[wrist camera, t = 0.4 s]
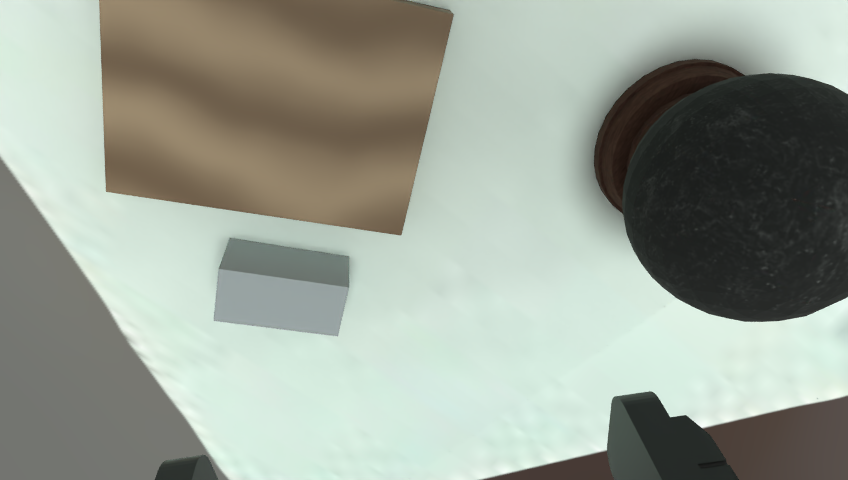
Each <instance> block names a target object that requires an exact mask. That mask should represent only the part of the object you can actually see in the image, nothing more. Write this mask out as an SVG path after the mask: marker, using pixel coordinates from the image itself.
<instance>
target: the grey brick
mask: <svg viewBox="0 0 848 480" xmlns="http://www.w3.org/2000/svg"><path fill="white" fill-rule="evenodd" d="M348 289H349V257H348V256H342V255H335V254H329V253H322V252H316V251H310V250H303V249H297V248H291V247H284V246H278V245H271V244H265V243H259V242H252V241H246V240H239V239H233V238H230V239H229V242H228V245H227V247H226V250H225V253H224V256H223V258H222V261H221V264H220V267H219V271H218V281H217V291H216V302H215V312H214V321H220V322H228V323H236V324H244V325H252V326H260V327H268V328H276V329H284V330H292V331H300V332H308V333H316V334H324V335H332V336H338V333H339V329H340V325H341V320H342V316H343V311H344V307H345V302H346V298H347V293H348Z"/></svg>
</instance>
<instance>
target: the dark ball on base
mask: <svg viewBox="0 0 848 480" xmlns="http://www.w3.org/2000/svg"><path fill="white" fill-rule="evenodd" d="M594 167H595V173H596V178H597V181H598V183H599V186H600V188H601V190H602V192H603V193H604V195H605V196H606V197H607V199H608V200H609V201H610V202H611V204H612V205H613V206H614V207H615V208H617V209H618V210H619V211H620V212H622V213H623V215H624V221H625V227H626V232H627V235H628V238H629V240H630V243H631V245H632V247H633V250H634V252H635V253H636V255H637V257H638V259H639V260H640V262H641V264H642V265H643V266H644V267H645V269H646V270H647V271H648V273H649V274H650V275H651V277H652V278H653V279H655V280H656V281H657V282H658V283H659V284H660V285H661V286H662V287H663V288H664V289H666V290H667V291H668V292H670V293H671V294H672V295H673V296H675V297H676V298H677V299H679V300H681V301H683V302H685V303H687V304H689V305H691V306H692V307H695V308H697V309H699V310H701V311H704V312H706V313H708V314H712V315H716V316H720V317H725V318H729V319H734V320H739V321H744V322H767V321H782V320H787V319H793V318H798V317H804V316H807V315H809V314H812V313H814V312H816V311H819V310H821V309H823V308H825V307H827V306H830V305H832V304H834V303H836V302H838V301H841V300H843V299H845V298H847V297H848V94H846V93H845V92H843V91H841V90H839V89H837V88H835V87H834V86H832V85H829V84H825V83H822V82H819V81H816V80H813V79H809V78H805V77H800V76H795V75H787V74H773V73H768V74H756V75H748V76H745V75H743V74H742V73H740V72H738V71H737V70H735V69H734V68H732V67H729V66H727V65H724V64H721V63H718V62H715V61H712V60H700V59H692V60H685V61H678V62H675V63H672V64H669V65H666V66H663V67H660V68H658V69H656V70H654V71H652V72H651V73H649V74H647V75H645V76H643V77H642V78H641V79H640V80H638V81H637V82H636V83H634V84H633V85H632V86H631V87H629V88H628V89H627V90H626V91H625V92H624V94H623V95H622V96H621V97H620V98H619V99H618V100H617V101H616V102H615V104H614V105H613V107H612V108H611V110H610V111H609V113H608V114H607V116H606V117H605V120H604V122H603V124H602V126H601V129H600V131H599V133H598V137H597V141H596V145H595V153H594Z"/></svg>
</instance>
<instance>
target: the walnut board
mask: <svg viewBox="0 0 848 480" xmlns="http://www.w3.org/2000/svg"><path fill="white" fill-rule="evenodd" d="M99 8H100V36H101V64H102V92H103V120H104V149H105V177H106V192H111V193H118V194H125V195H132V196H138V197H145V198H152V199H159V200H165V201H172V202H179V203H186V204H192V205H199V206H206V207H213V208H219V209H226V210H233V211H240V212H246V213H253V214H260V215H267V216H273V217H280V218H287V219H294V220H300V221H307V222H314V223H321V224H327V225H334V226H341V227H348V228H355V229H361V230H368V231H375V232H382V233H388V234H395V235H401V234H402V230H403V226H404V222H405V217H406V213H407V209H408V205H409V201H410V196H411V192H412V188H413V184H414V180H415V175H416V171H417V167H418V163H419V158H420V154H421V150H422V146H423V142H424V137H425V133H426V129H427V125H428V121H429V116H430V112H431V108H432V104H433V99H434V95H435V91H436V87H437V83H438V78H439V74H440V70H441V66H442V62H443V57H444V53H445V49H446V45H447V40H448V36H449V32H450V28H451V24H452V19H453V15H454V14H453V13H452V12H451V11H450V10H446V9H441V8H437V7H433V6H429V5H424V4H420V3H416V2H411V1H407V0H99Z"/></svg>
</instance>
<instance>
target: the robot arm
mask: <svg viewBox="0 0 848 480" xmlns="http://www.w3.org/2000/svg"><path fill="white" fill-rule="evenodd" d="M607 453H608V459H609V465H610V469H611V472H612V475H613V478H614V480H739V479H738V478H737V476H736V474H735V473H734V472H733V470H732V468H731V467H730V465H727V463H726V459H725V457H724V456H723V454H722V453H721V451H720V450H719V448H718V447H717V445H716V443H715V442H714V440H713V439H712V437H711V436H710V435H709V434H708V433H707V432H706V431H704V430H703V429H702V428H701V427H700V426H698V425H697V424H696V423H695V422H694V421H692V420H691V419H690V418H689V417H687V416H686V415H684V416H677V417H670V416H669V415H668V413H667V411H666V410H665V408H664V406H663V405H662V403H661V401H660V400H659V398H658V397H657V395H656V394H655V393H653V392H643V393H636V394H629V395H622V396H616V397H614V398H613V399H612V404H611V413H610V423H609V433H608V443H607ZM155 480H218V478H217V476H216V474H215V471H214V469H213V467H212V465H211V462H210V461H209V459H208V457H207V456H205V455H200V456H193V457H186V458H179V459H173V460H166V461H164V462H163V463H162V464H161V466H160V467H159V470H158V473H157V475H156V478H155Z"/></svg>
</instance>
